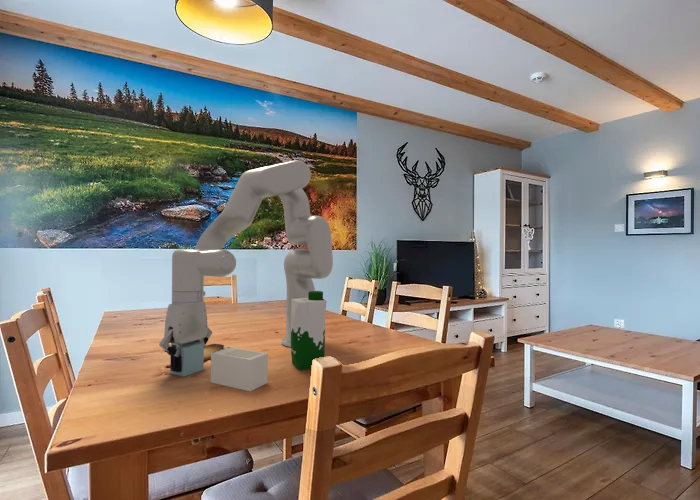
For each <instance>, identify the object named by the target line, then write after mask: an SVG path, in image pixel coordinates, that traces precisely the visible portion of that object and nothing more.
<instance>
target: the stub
mask: <svg viewBox="0 0 700 500" xmlns="http://www.w3.org/2000/svg"><path fill="white" fill-rule="evenodd" d="M176 347H177V345H176V346H175V350H176ZM179 356H181V357H182V368H181V372H174V371H171V367H170V366H169V368H170V370H169V371H170V374H171V375H172V374H173V375H175V376H180V377H186V376H189V375H193V374H194V373H198V372H200V371H203V370H205V369H204V367H205V366H204V364H205V362H204V343H202V342H195V341H193V342H189V343H185V344H183V345H182V348H181V352H180V355H179Z"/></svg>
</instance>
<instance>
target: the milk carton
mask: <svg viewBox="0 0 700 500" xmlns="http://www.w3.org/2000/svg"><path fill="white" fill-rule="evenodd" d="M326 311H327V300H326V299H324V292H323V291H321V290H315V291H310V292H309V293H308V298H300V299H291V347H290V351H291V352H290V353H291V363H292V364H293V365H294V366H295V368H296V369H297V370H298V371H304V370H312V369H311V365H312V360H313V359H315V358H319V357H324V356H325V354H326V352H325V351H326Z"/></svg>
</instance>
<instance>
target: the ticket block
mask: <svg viewBox="0 0 700 500" xmlns="http://www.w3.org/2000/svg"><path fill="white" fill-rule="evenodd" d="M268 355H269V353H268V352H262V351H261V352H260V351H255V350H250V349H249V350H248V349H243V348H239V347H238V348H237V347H231V346H228V347H225V348H224V347H223V348H222V349H221V350H218V351H214V352H212V353H211V360H210V383H212V384H216V385H220V386H224V387H230V388H234V389H238V390H243V391H247V392H252V391H254V390H256V389H258V388H261V387H263V386H264V385H266V384H268V377H269V375H268V369H269V367H268V362H269V357H268Z"/></svg>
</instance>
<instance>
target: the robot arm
mask: <svg viewBox="0 0 700 500" xmlns="http://www.w3.org/2000/svg"><path fill="white" fill-rule="evenodd" d="M311 171H312V170H311V168H310V167H309V165H308V164H307V163H306V162H305V161H302V160H300V159H298V160H297V159H295V160H290V161H287V162H280V163H275V164H273V165H268V166H263V167H258V168H257V167H256V168H254V169H249V170H246V171H244V172H243V173H242V174H241V175H240V177H239V178H238V180H237V183H236V184H235V187H234V188H233V190H232V192H231V194H230V197H229V198H228V200H227V202H226V204H225V206H224V208H223V210H222V211H221V213H220V214H219V215H218V216H217V217H216V218H215V219H214V220H212V222H211V223H210V224H209V225H208V226H207V227H206V229H205V230H204V231H203V233H202V234H201V235H200V237H199V239H198V241H197V243H196V245H194V246H195V247H194V249H176V250H174V251H173V252H172V254H171V255H172V256H171V303H169V304H168V306H167V309H166V315H165V322H164V331H163V332H164V335H163V337H162V339H161V341H160V342H159V343H158V346H159V347H160V348H161V349H163V350H164V351H165V352H166V353H167V354H168V356H170V363H169V365H170V366H169V368H170V367H171V371H174V372H181V368H182V357H181V356H179V355H180V352H181V348H182V345H183V344H185V343H189V342H193V341H195V342H202V343H204V348H205V345H207V343H208V342H209V339H210V337H211V336H212V334H213V331H212V330H211V329H210V328H209V326H208V313H207V306H206V302H205V301H204V297H205V296H206V291H204V283H205V282H204V278H205V277H206V276H207V277H213V278H214V277H215V278H216V277H217V278H223V277H226V276H229V275H230V274H232V273H233V272H234V271H235V270H236V266H237V259H236V257H235V255H234V254H233V253H232V252H231V251H229V250H226V249H223V248H224V247H225V245H226V243H228V242H229V240H230V239H232V238H233V237H234V236H236V235H238V234H240V233H241V232H243V231H244V230H246V229H247V228H249V227H250V226H251V224H252V222H253V221H254V219H255V217H256V214H257V212H258V211H259V208H260V206H261V204H262V201H263V200H264V198H269V197H276V196H277V197H279V199H280V201H281V202H282V203H281V204H282V206H283V214H284V226H285V227H284V228H285V236H286V240H287V241H288V242H289V243H290V244H292V245H295V246H308V248H296V249H293V250H291V251H289V252H288V253H287V254H286V256H284V260H283V269H284V274H285V280H286V313H285V314H286V316H285V317H286V331H285V332H286V334H285V335H286V337H283V338H282V339H281V345H283V346H285V347H287V348H288V347H289V348H291V299H300V298H308V293H309V292H310V291H316V288H315V283H314V279H316V280H322V279H326V278H327V277H329V276H330V274H331V272H332V270H333V266H334V263H333V262H334V261H333V259H334V258H333V245H332V244H333V242H332V241H333V240H332V232H331V227H330V224H329V223H328V221H327V220H326V219H325V218H324V217H323V216H319V215H311V208H310V201H309V197H308V196H307V193H306V192H305V191H304V189H303V188H306V187H307V185H308V184H309V183H310V181H311V177H312V174H311ZM176 345H177V347H176V350H175V346H176Z"/></svg>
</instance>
